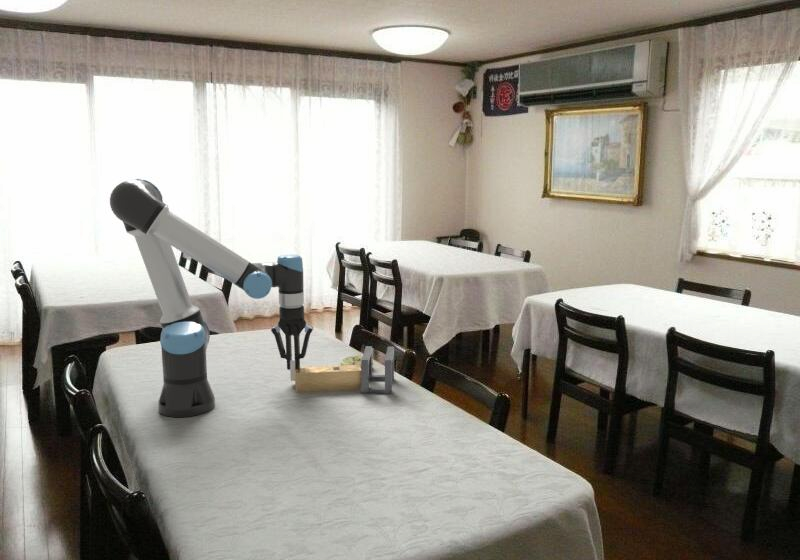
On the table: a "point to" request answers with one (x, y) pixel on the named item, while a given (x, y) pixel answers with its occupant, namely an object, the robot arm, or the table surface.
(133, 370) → the table surface
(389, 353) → the grey cradle stand
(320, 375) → the tan wooden brick
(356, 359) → the decorated donut
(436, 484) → the table surface
